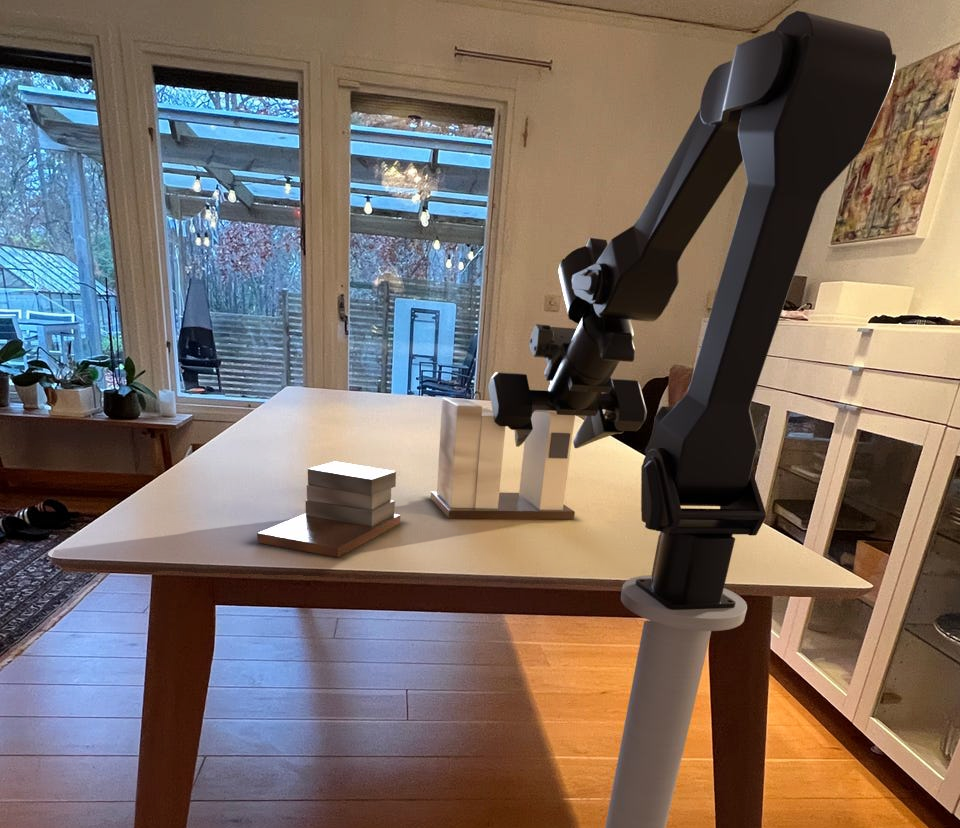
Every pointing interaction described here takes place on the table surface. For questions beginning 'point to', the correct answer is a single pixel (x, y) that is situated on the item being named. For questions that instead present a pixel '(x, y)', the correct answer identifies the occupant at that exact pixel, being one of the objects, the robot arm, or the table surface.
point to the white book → (546, 460)
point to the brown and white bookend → (477, 468)
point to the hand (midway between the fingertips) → (546, 444)
